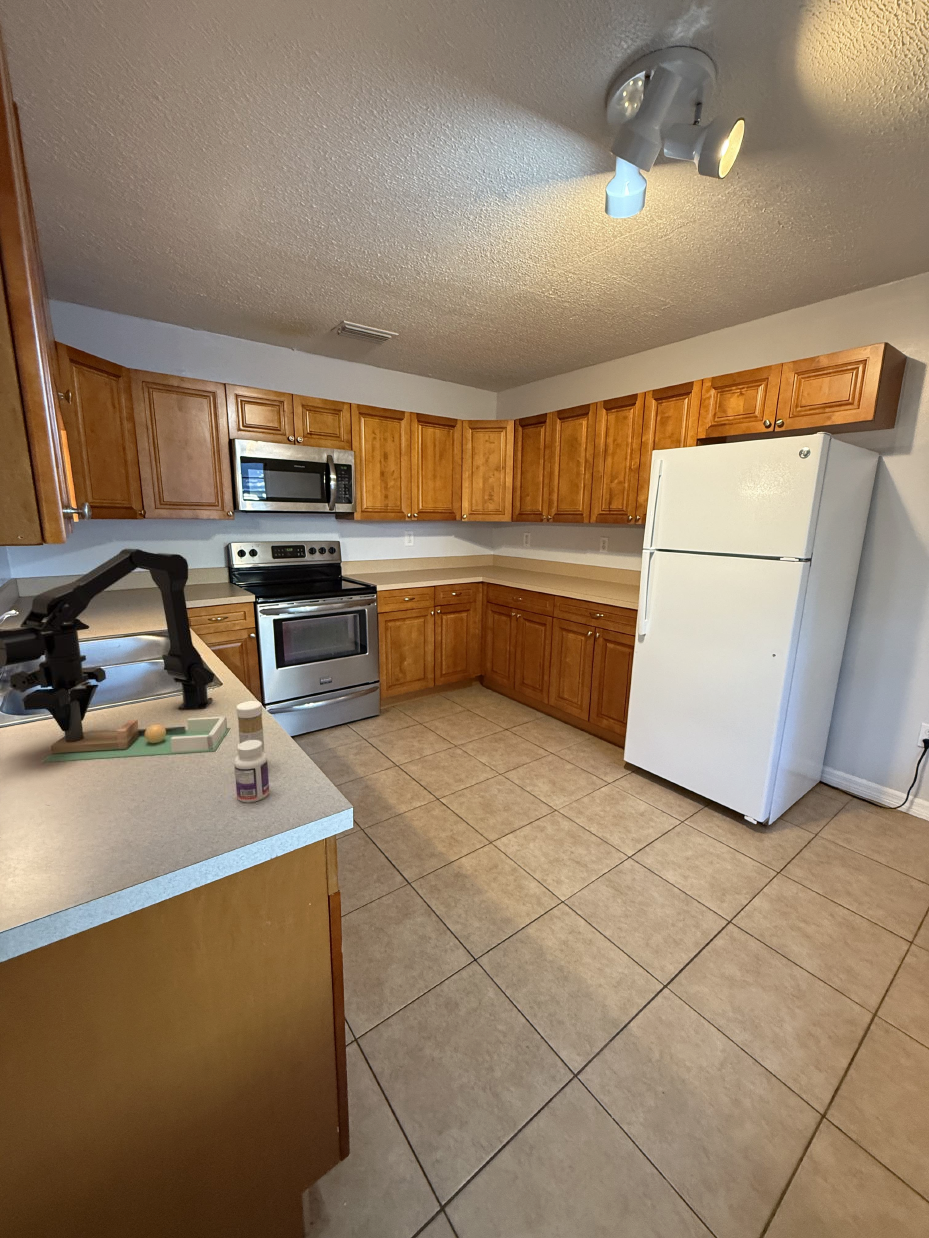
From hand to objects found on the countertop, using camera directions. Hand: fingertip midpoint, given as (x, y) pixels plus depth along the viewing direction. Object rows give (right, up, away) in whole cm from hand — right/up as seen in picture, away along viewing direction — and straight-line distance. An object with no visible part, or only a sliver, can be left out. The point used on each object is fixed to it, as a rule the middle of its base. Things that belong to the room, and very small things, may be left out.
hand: (73, 725), depth 105 cm
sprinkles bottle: (+41, -7, -6) cm, 42 cm away
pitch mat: (+13, -5, +3) cm, 14 cm away
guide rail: (+7, -4, +6) cm, 10 cm away
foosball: (+15, -2, +4) cm, 16 cm away
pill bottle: (+44, -9, -15) cm, 48 cm away
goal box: (+24, -4, +6) cm, 25 cm away
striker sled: (+4, -5, +2) cm, 6 cm away
